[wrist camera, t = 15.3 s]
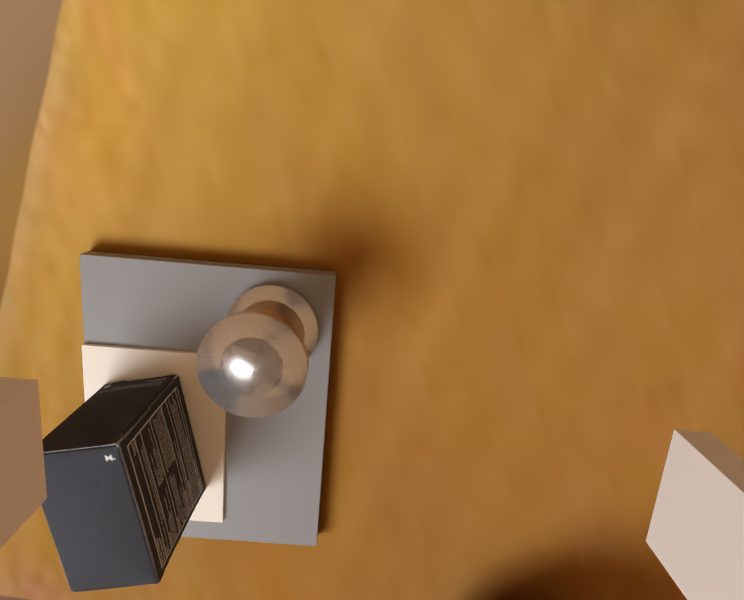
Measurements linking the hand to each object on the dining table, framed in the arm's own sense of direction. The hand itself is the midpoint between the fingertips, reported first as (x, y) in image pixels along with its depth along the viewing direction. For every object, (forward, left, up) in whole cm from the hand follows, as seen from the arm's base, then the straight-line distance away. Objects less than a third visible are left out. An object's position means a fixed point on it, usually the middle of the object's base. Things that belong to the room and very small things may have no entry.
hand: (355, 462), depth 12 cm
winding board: (+12, +15, -32) cm, 37 cm away
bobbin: (+6, +8, -30) cm, 32 cm away
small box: (+16, +17, -30) cm, 38 cm away
